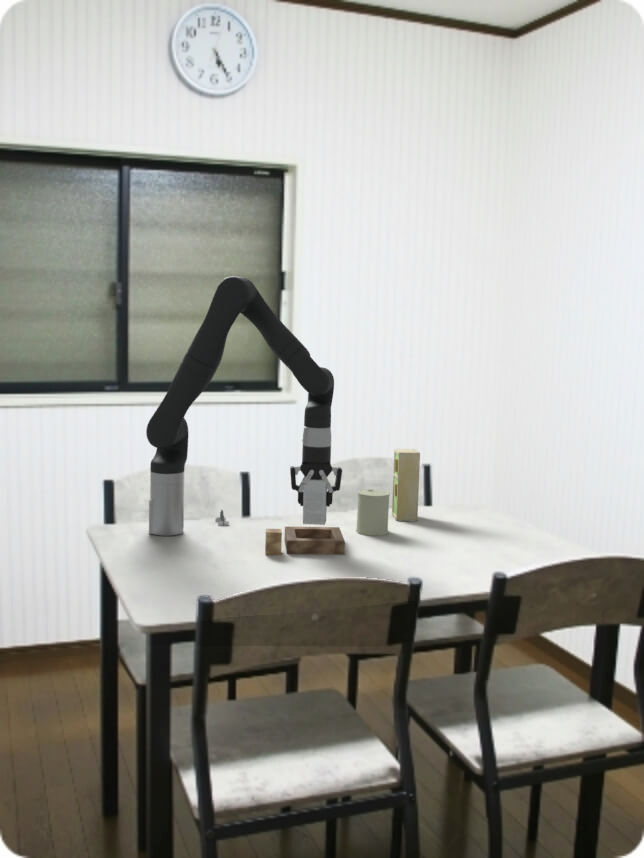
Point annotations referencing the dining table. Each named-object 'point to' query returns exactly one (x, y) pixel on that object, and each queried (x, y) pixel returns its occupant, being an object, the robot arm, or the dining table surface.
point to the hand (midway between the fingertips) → (314, 505)
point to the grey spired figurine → (222, 519)
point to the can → (372, 512)
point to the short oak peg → (273, 542)
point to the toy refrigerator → (405, 484)
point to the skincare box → (314, 502)
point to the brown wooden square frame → (314, 540)
